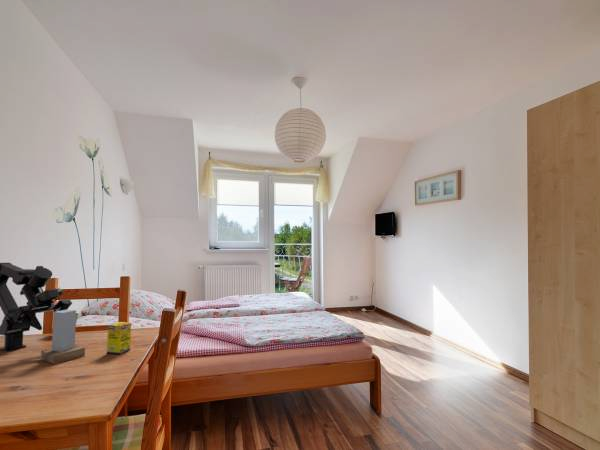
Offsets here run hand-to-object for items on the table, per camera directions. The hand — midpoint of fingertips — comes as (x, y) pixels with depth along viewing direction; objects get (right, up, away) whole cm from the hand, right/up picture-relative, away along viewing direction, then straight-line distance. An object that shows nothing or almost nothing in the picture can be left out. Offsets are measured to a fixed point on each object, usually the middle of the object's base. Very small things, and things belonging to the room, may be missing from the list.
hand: (53, 326), depth 126 cm
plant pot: (-17, -13, +30) cm, 37 cm away
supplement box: (+23, -11, +4) cm, 26 cm away
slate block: (+5, -8, -2) cm, 10 cm away
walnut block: (+5, -11, -3) cm, 12 cm away
